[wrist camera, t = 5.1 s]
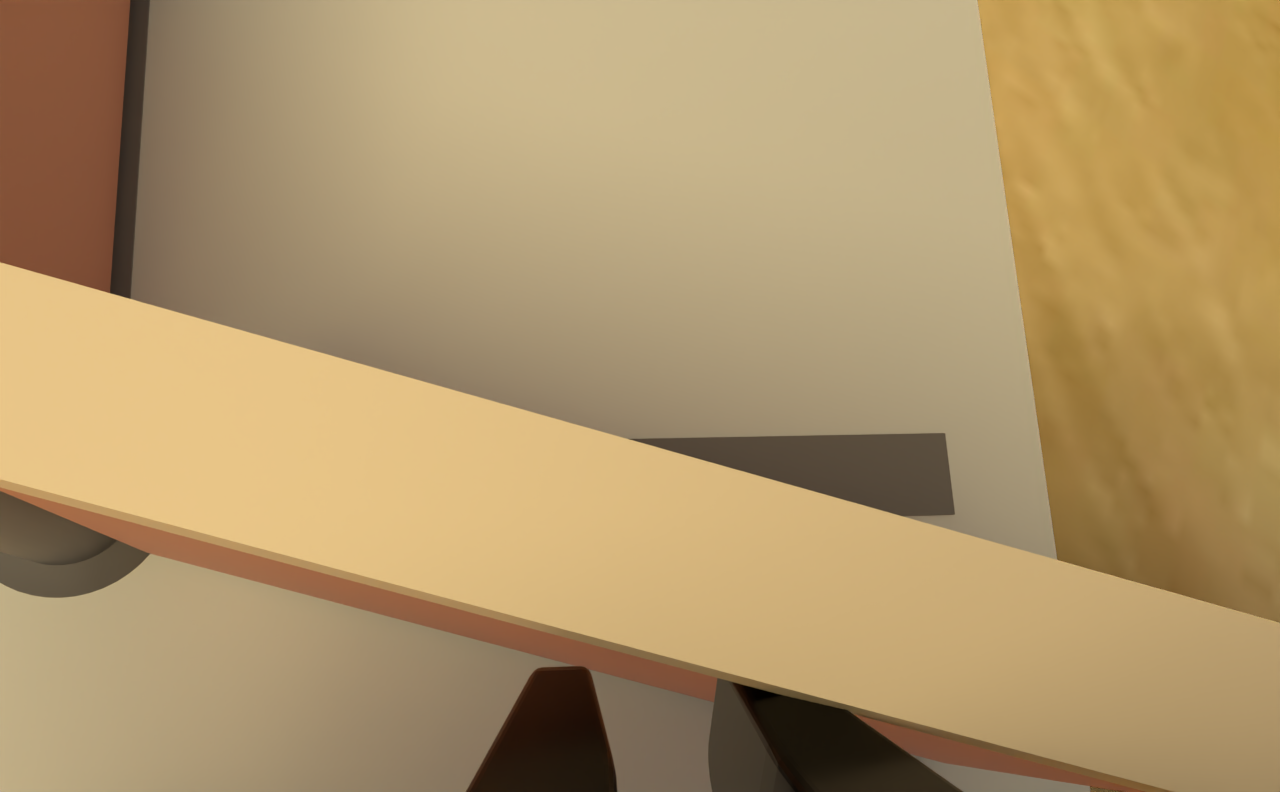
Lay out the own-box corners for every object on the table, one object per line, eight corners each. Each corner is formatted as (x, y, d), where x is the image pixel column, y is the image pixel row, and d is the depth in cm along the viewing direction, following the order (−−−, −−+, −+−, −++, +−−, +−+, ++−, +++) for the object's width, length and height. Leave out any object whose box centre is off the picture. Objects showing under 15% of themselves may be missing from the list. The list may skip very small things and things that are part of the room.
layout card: (1117, 1070, 15) (1133, 1077, 14) (-122, 1215, 12) (-137, 1228, 12) (969, 6, 19) (977, -7, 18) (7, -38, 16) (-2, -54, 16)
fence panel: (143, 564, 14) (-274, 406, 6) (177, 473, 14) (-177, 212, 6) (943, 774, 15) (1484, 874, 7) (957, 684, 15) (1490, 680, 7)
